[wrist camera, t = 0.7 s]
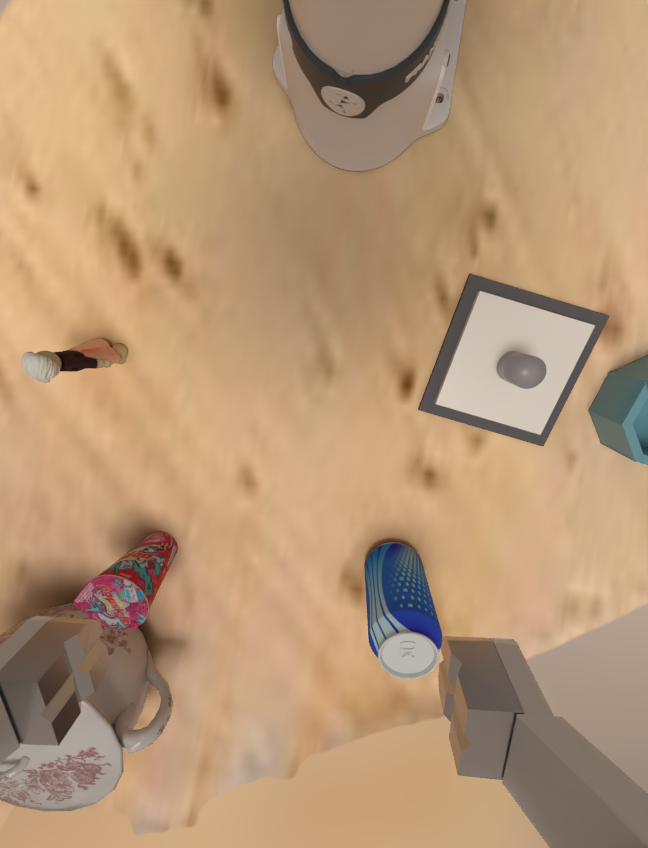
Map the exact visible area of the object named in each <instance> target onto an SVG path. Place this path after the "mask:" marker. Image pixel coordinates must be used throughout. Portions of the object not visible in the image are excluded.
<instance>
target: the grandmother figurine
mask: <svg viewBox="0 0 648 848" xmlns="http://www.w3.org/2000/svg"><path fill="white" fill-rule="evenodd" d="M127 353H128V350H127V348H126V346H125V345H123V344H121V343H116V344H114V345H113V347H110V345H109V343H108V342H107V341H106V340H104V339H95V340H91V341H89V342H86V343H83V344H81V345H79V346H76V347H74V348H71V349H69V350H67V351H63V352H54V353H53V352H49V351H40V352H38V353H36V354H35V353H33V352H27V353H25V354H24V355H23V357H22V366H23V368H24V370H25V371H26V372H27V374H29V375H30V376H31V377H33V378H34V379H36V380H37V381H40V382H43V383H48V382H50V379H51V378H54V377H55V376H56V375H58V374H59V372H60V371H79V370H82V369H84V368H102V367H106V368H109V367H110V366H111V365H112V364H113V363H118V364H123V363H124V362H125V360H126V356H127Z"/></svg>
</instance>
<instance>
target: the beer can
mask: <svg viewBox="0 0 648 848" xmlns="http://www.w3.org/2000/svg"><path fill="white" fill-rule="evenodd" d="M365 583H366V601H367V618H368V635H369V643H370V646H371V649H372V651H373V652H374V654H375V655H376V656H377V657H378V659H379V663H380V665H381V666H382V668H383V669H384V670H385V671H386V672H387V673H389V674H390V675H392V676H394V677H397V678H401V679H417V678H420V677H423V676H425V675H427V674H429V673H430V672H432V671H433V670H434V668H435V667H436V665H437V663H438V660H439V651H440V648H441V645H442V632H441V628H440V625H439V621H438V618H437V614H436V611H435V607H434V604H433V600H432V597H431V593H430V590H429V586H428V583H427V579H426V576H425V572H424V569H423V565H422V561H421V559H420V557H419V555H418V554H417V553H416V551H415V550H413V549H412V548H411V547H409V546H407V545H404V544H401V543H398V542H387V543H384V544H381V545H379V546H378V547H376V548H375V549H373V550H372V551H371V552H370V553H369V555H368V556H367V558H366V561H365Z"/></svg>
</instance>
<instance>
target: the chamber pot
mask: <svg viewBox="0 0 648 848" xmlns="http://www.w3.org/2000/svg"><path fill="white" fill-rule="evenodd" d="M35 616H48V617H64V618H77V619H90V620H93V619H92V618H90V617H89V616H87V615H86V614H84V613H83V612H82V611H80V610H79V609H78V608H77V607H76V606H75V604H74V602H73V603H66V604H63V605H59V606H56V607H53V608H49V609H46V610H43V611H40V612H38V613H36V614H34V615H31V616H29V617H27V618H25V619H23V620H22V621H20V622H19V623H18V624H16V625H15V626H13V627H12V628H10V629H9V630H7V631H6V632H4V633H3V634H1V635H0V646H1V645H2V644H3V643H4V642H5V641H6V640H7V639H8V638H9V637H10V636H11V635H13V634H14V633H15V632H16V631H17V630H18V629H19V628H20V627H21V626H22V625H23V624H24V623H25V622H26V621H27V620H29V619H31V618H33V617H35ZM101 626H102V630H103V633H102V634H101V636H100V638H99V639H100V640H101V641H102V642H103V643H104V644H105V645H106V646H107V649H108V654H109V656H108V666H107V669H106V672H105V674H104V677H103V680H102V681H101V683H100V684H99V686H98V687H97V689H96V691H95V692H94V693H92V694H91V695H90V696H88V697H87V698H86V699H84V700H83V701H82V702H81V713H80V715H79V716H78V718H77V719H76V721H75V722H74V724H73V725H72V727H71V728H70V730H69V731H68V733H67V734H66V736H65V737H64V739H63V740H62V742H61V743H60V745H59V746H54V745H27V744H19V745H20V747H19V748H18V749H17V750H16V751H15V752H13V753H12V754H11V755H10V756H9V757H7V758H6V759H5V760H4V761H3V762H1V763H0V800H1V801H4V802H7V803H9V804H12V805H15V806H18V807H24V808H29V809H35V810H40V811H72V810H76V809H79V808H83V807H86V806H90V805H93V804H95V803H97V802H98V801H100V800H101V799H102V798H104V797H105V796H106V795H108V794H109V793H110V792H112V791H113V790H114V789H115V788H116V786H117V784H118V781H119V779H120V777H121V775H122V773H123V749H122V748H123V747H124V748H126V749H127V750H128V753H135V752H137V751H139V750H141V749H143V748H145V747H147V746H149V745H151V744H153V742H154V741H155V740H156V739H157V738H158V737H159V736H160V735H161V734H162V732H163V730H164V728H165V726H166V724H167V722H168V720H169V718H170V716H171V712H172V707H173V701H172V697H171V693H170V689H169V685H168V683H167V681H166V680H165V679H164V678H163V677H162V676H161V675H160V673H159V672H158V671H157V669H156V667H155V665H154V662H153V659H152V655H151V652H150V651H149V649H148V646H147V644H146V641H145V638H144V636H143V633H142V631H141V630H140V629H139V628H138V627H137V628H134V629H130V630H116V629H111V628H108V627H105V626H103V625H101ZM150 683H151V684H152V685H153V686H154V687H155V688H156V689H157V690H158V691H159V693H160V696H161V704H160V708H159V710H158V712H157V714H156V715H155V717H154V719H153V720H152V721H151V722H150V724H149V725H148V726H147V727H145V728H142V729H140V730H133V729H134V727H135V725H136V723H137V721H138V718H139V716H140V714H141V712H142V709H143V706H144V703H145V700H146V697H147V693H148V690H149V687H150Z"/></svg>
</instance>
